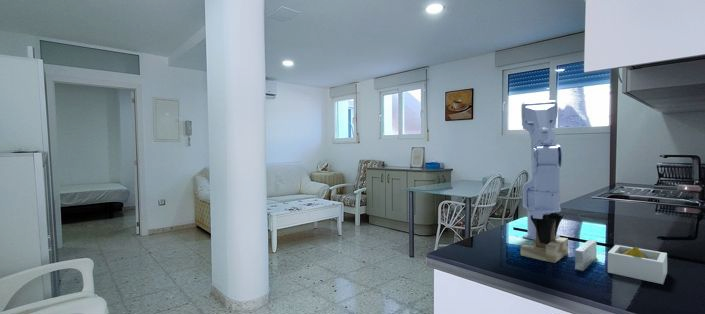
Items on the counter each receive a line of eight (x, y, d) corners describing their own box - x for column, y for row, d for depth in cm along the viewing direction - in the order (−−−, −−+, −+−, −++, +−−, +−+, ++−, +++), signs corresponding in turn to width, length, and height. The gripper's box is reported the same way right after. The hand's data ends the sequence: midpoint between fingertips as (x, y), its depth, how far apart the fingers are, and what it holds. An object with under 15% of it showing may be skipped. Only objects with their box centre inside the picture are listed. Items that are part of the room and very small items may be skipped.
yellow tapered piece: (655, 273, 71) (660, 252, 66) (630, 282, 72) (633, 261, 67) (635, 254, 76) (638, 232, 70) (612, 262, 77) (614, 241, 71)
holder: (615, 262, 77) (615, 244, 77) (667, 272, 71) (667, 253, 71) (607, 272, 72) (607, 252, 72) (663, 284, 65) (662, 262, 65)
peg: (539, 251, 87) (541, 219, 86) (554, 254, 84) (555, 221, 84) (535, 254, 85) (536, 221, 84) (549, 257, 82) (551, 223, 81)
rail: (589, 256, 82) (589, 239, 82) (596, 258, 81) (596, 240, 81) (575, 269, 74) (575, 250, 74) (582, 270, 73) (582, 251, 73)
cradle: (535, 246, 91) (535, 233, 91) (568, 253, 85) (568, 238, 85) (520, 255, 84) (520, 240, 84) (554, 262, 78) (554, 246, 78)
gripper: (540, 187, 91) (540, 234, 92) (519, 192, 82) (520, 244, 82) (568, 189, 86) (568, 238, 86) (550, 194, 77) (550, 250, 77)
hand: (547, 241), depth 84 cm, fingers closed on peg, 3 cm apart
